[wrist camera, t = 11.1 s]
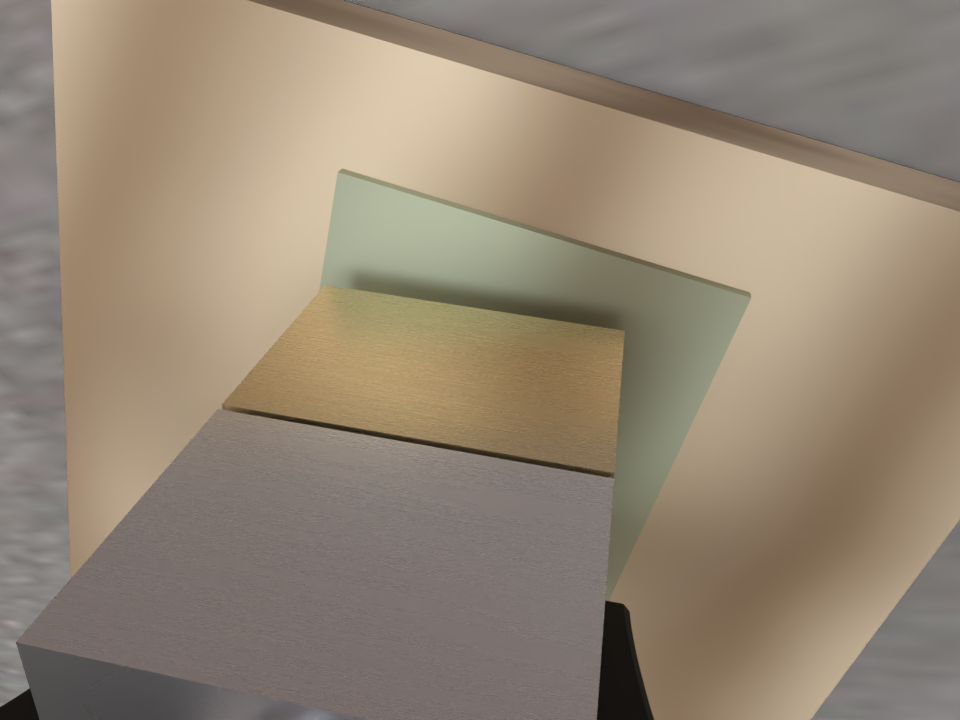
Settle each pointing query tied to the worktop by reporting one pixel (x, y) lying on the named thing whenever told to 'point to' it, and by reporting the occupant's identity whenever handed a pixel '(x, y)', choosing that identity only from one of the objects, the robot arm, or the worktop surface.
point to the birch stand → (528, 300)
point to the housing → (362, 533)
